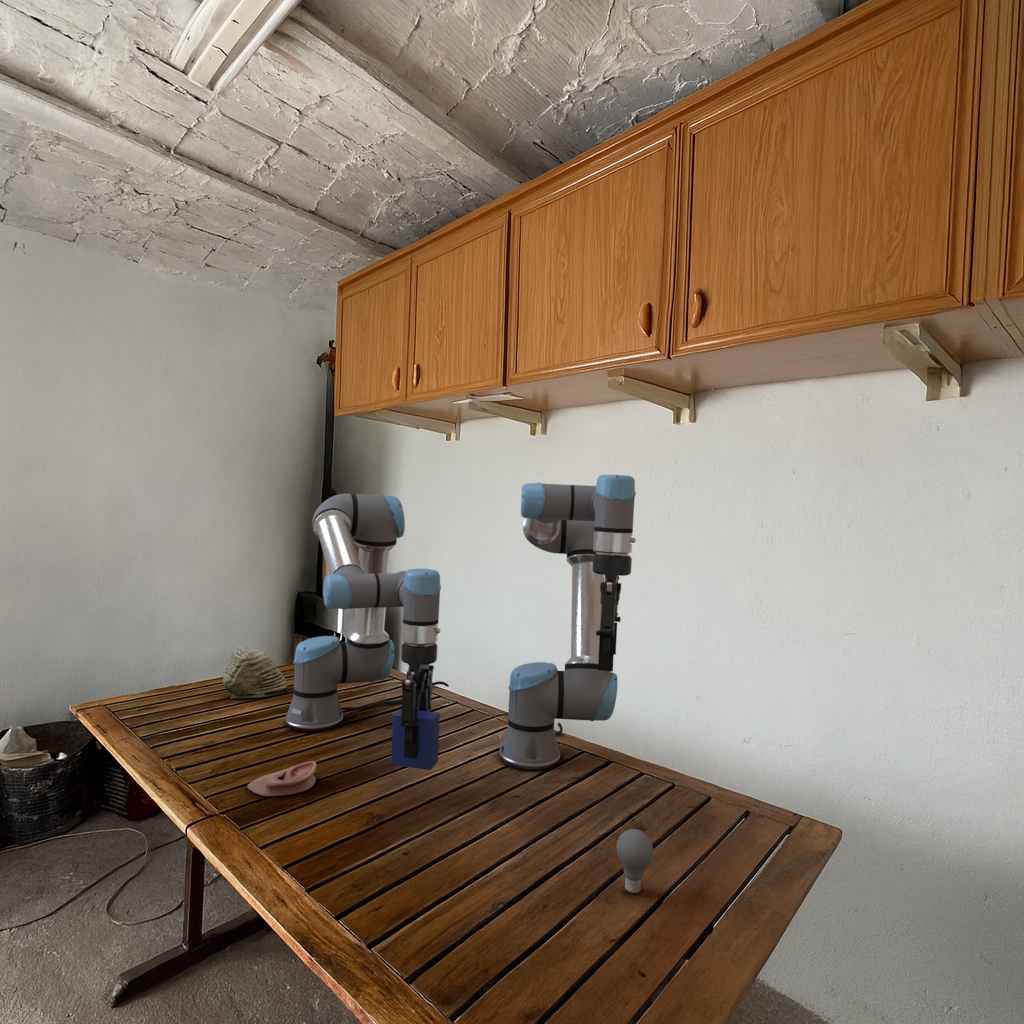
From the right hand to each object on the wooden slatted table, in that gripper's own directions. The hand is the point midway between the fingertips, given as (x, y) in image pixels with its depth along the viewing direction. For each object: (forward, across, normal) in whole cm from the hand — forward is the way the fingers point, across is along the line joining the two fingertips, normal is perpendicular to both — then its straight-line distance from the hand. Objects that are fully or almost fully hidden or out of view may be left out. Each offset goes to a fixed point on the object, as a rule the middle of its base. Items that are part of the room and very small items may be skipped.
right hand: (607, 661), depth 124 cm
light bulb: (+34, -18, -7) cm, 39 cm away
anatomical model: (+34, -1, +69) cm, 76 cm away
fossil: (+34, +52, +111) cm, 127 cm away
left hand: (+23, +2, +40) cm, 46 cm away
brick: (+26, +2, +40) cm, 47 cm away
